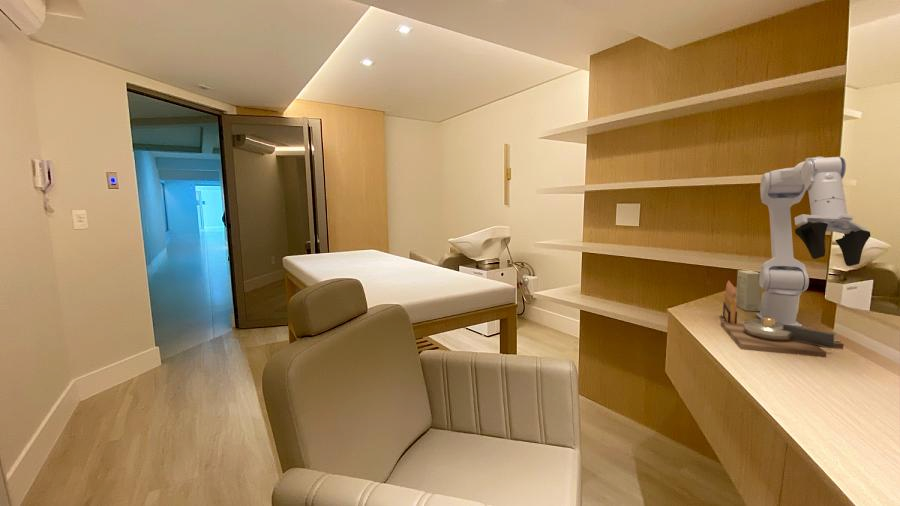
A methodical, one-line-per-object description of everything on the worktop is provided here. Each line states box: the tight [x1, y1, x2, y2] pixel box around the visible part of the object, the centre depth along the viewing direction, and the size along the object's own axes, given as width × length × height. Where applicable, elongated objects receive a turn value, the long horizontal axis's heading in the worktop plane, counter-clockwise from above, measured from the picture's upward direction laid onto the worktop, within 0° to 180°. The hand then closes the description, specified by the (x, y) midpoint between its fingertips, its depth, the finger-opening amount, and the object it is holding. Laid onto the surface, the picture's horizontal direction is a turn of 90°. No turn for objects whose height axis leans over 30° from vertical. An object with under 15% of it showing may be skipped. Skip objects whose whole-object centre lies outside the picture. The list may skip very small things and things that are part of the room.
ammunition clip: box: [722, 280, 738, 324], centre depth 111 cm, size 11×2×12 cm, turn 152°
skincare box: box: [736, 269, 762, 312], centre depth 123 cm, size 6×4×12 cm
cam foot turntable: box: [743, 317, 836, 347], centre depth 95 cm, size 17×10×4 cm, turn 38°
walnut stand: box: [720, 320, 845, 358], centre depth 97 cm, size 18×22×1 cm
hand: (835, 261), depth 81 cm, fingers open, 7 cm apart
